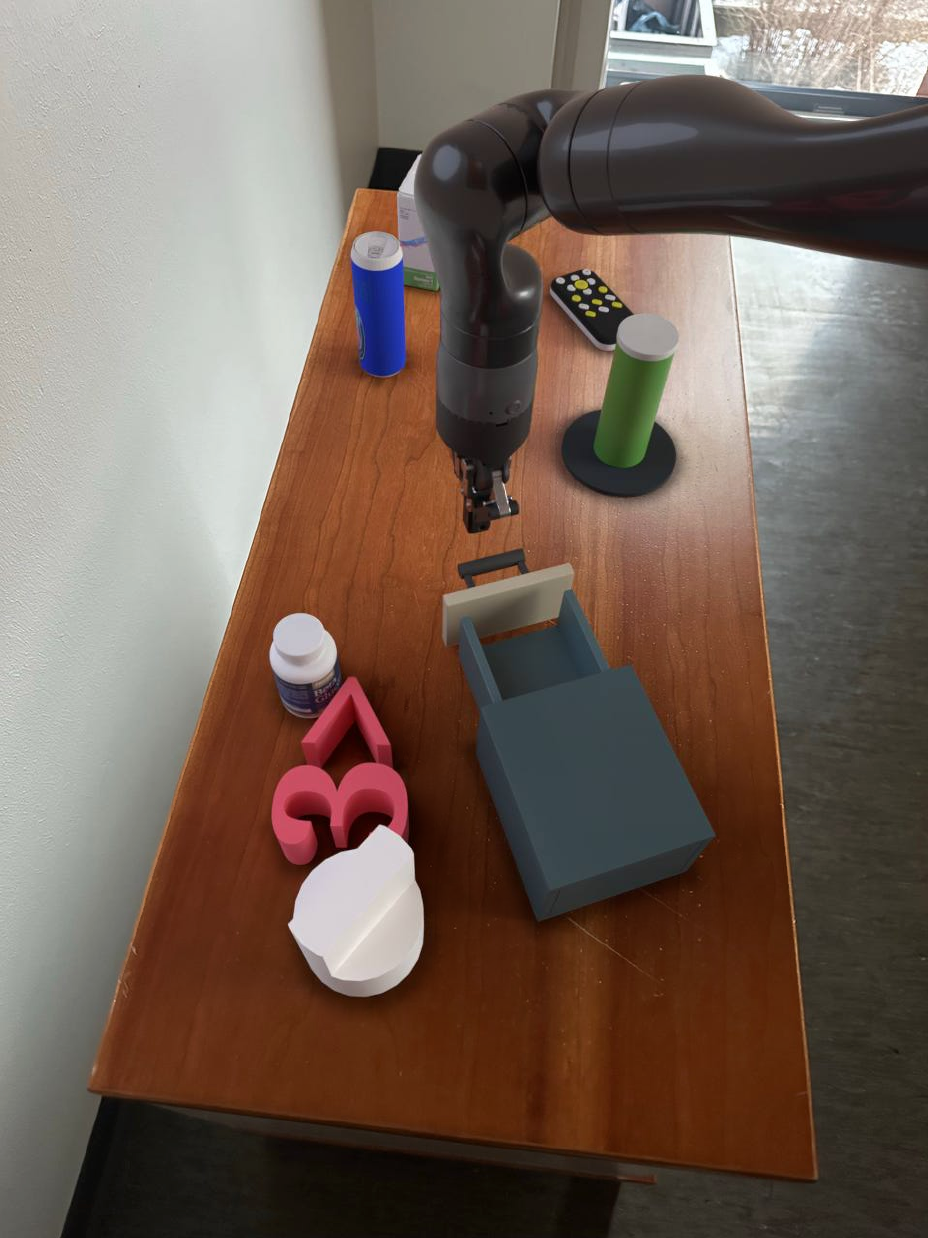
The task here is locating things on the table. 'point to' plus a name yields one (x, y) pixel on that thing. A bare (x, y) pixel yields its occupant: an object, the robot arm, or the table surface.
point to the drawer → (515, 606)
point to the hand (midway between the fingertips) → (476, 526)
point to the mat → (614, 479)
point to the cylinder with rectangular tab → (362, 916)
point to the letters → (357, 790)
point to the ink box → (414, 238)
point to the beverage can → (379, 303)
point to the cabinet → (588, 791)
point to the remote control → (591, 306)
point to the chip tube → (634, 388)
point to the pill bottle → (305, 665)
